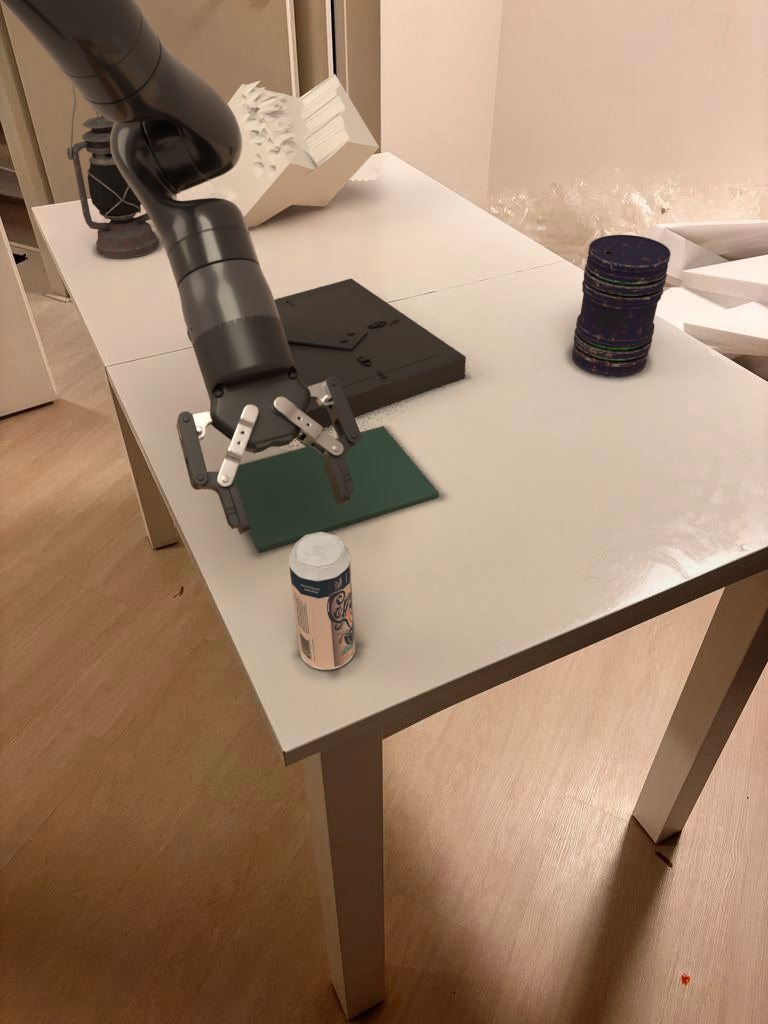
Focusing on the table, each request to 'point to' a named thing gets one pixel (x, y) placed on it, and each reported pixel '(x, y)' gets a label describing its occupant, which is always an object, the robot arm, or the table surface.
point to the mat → (327, 489)
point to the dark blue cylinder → (619, 304)
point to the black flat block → (363, 348)
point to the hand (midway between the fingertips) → (296, 517)
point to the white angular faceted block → (293, 149)
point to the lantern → (110, 196)
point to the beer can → (323, 600)
